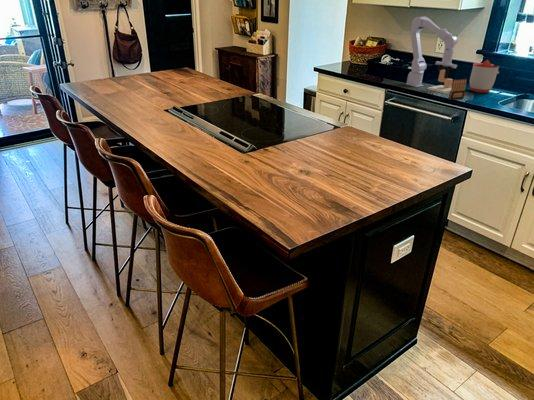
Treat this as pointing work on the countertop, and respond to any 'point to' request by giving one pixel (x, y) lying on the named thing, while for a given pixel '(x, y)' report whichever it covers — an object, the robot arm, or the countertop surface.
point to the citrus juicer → (483, 77)
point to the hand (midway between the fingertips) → (443, 77)
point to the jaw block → (442, 76)
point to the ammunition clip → (457, 90)
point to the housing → (443, 87)
